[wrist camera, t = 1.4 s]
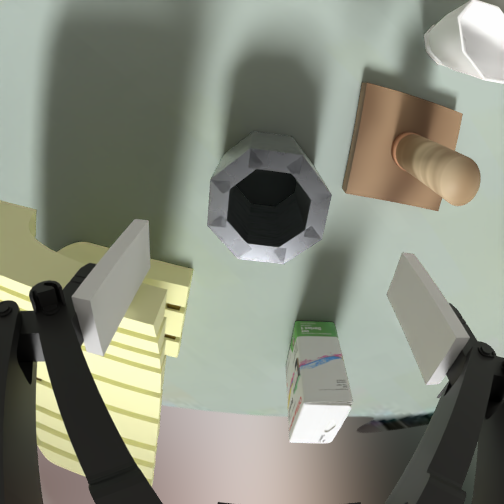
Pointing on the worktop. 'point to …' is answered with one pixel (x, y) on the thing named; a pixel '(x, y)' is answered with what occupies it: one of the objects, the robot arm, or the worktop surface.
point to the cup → (470, 41)
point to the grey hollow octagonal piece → (263, 216)
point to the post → (408, 151)
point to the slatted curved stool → (119, 350)
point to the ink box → (316, 383)
